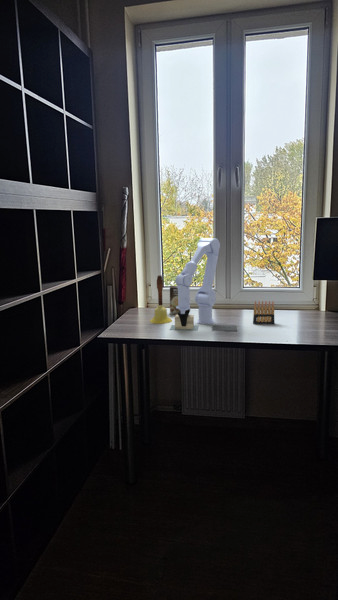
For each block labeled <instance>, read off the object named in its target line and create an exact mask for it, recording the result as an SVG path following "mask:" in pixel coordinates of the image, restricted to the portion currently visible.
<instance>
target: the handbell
mask: <svg viewBox="0 0 338 600" xmlns="http://www.w3.org/2000/svg"><path fill="white" fill-rule="evenodd" d="M163 289H164V279H163V276H162V274H161V275H160V274H158V275H157V277H156V290H157V299H158V304H157V307H156V308H155V309H154V316H153V317H152V318H151V319H150V320H149V323H151V324H155V325H157V324H158V325H163V324H169V323H172V322H173V320H172V318H170V317H169V316H168V311H167V310H168V309H167V308H166V306H165V307H164V306H163V291H164V290H163Z"/></svg>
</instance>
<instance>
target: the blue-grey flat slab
mask: <svg viewBox="0 0 338 600" xmlns="http://www.w3.org/2000/svg"><path fill="white" fill-rule="evenodd" d="M199 326H200V325H199V324H198V325H195V324H194V327H193V329H175V324H172V325H170V328H169V331H198V330H199Z"/></svg>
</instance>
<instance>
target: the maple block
mask: <svg viewBox="0 0 338 600" xmlns="http://www.w3.org/2000/svg"><path fill="white" fill-rule="evenodd" d="M194 322H195V321H194V314H189V315H188V318H187V324H186V326H182V325H181V321H180V318H179V316H178V315H174V325H175V329H193V327H194V325H195V323H194Z"/></svg>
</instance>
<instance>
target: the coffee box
mask: <svg viewBox="0 0 338 600" xmlns="http://www.w3.org/2000/svg"><path fill="white" fill-rule="evenodd" d="M177 306H178V288H177V285H169V316H170V315H171V316H173V315H174V316H176V315H178V312H180V311H179V309H176V307H177Z"/></svg>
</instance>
